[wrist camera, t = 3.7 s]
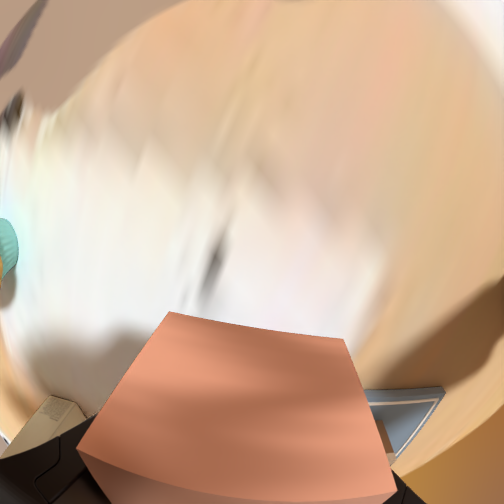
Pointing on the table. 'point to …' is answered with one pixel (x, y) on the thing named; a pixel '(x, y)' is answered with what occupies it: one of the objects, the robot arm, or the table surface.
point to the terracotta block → (237, 422)
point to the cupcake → (7, 247)
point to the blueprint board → (401, 415)
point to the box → (46, 425)
